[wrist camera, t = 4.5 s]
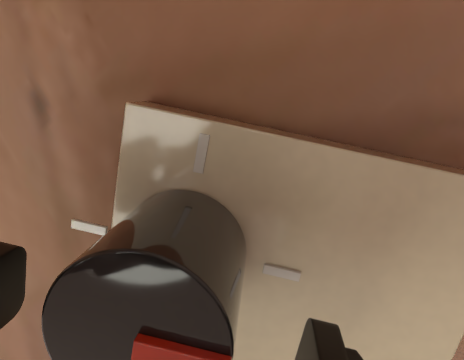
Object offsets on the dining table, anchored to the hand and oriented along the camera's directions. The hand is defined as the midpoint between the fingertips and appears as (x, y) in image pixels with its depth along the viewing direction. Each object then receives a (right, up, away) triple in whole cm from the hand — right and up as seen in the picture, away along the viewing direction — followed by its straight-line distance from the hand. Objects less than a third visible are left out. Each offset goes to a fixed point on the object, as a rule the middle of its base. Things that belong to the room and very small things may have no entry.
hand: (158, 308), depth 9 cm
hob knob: (0, +1, +4) cm, 4 cm away
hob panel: (+4, +1, +5) cm, 7 cm away
